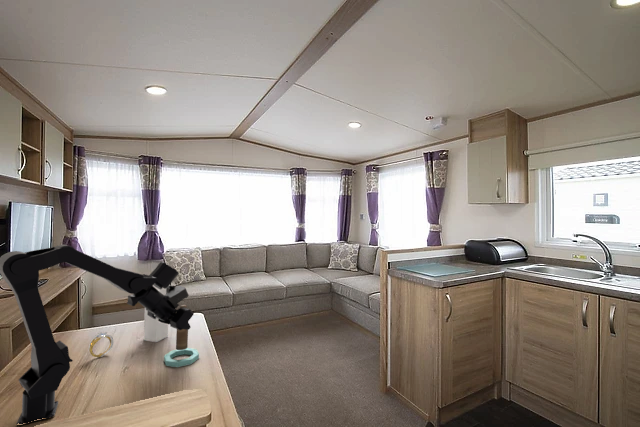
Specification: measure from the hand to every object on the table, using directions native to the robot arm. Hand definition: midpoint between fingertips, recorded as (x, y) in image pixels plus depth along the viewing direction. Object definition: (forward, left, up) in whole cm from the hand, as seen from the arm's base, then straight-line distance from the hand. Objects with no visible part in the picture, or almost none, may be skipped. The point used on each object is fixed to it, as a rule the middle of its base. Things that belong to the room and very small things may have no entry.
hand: (186, 326), depth 103 cm
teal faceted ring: (-1, +1, -10) cm, 10 cm away
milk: (+22, +7, -11) cm, 26 cm away
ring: (+14, +24, -11) cm, 30 cm away
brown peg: (-1, +1, -7) cm, 7 cm away
